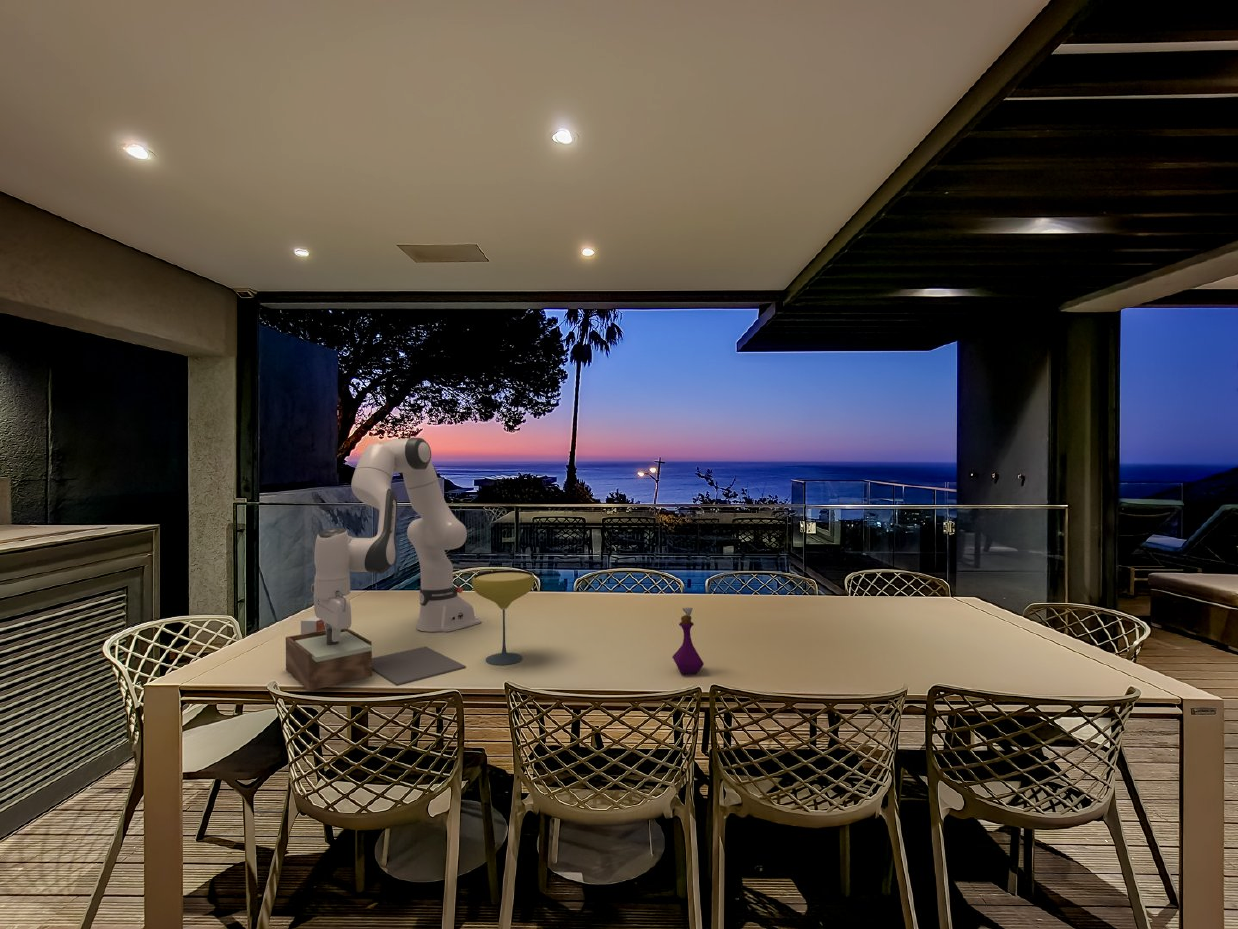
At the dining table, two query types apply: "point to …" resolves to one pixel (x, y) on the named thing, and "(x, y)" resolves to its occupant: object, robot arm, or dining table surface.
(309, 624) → the small box
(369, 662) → the walnut box
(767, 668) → the dining table surface
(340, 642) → the lid
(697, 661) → the perfume bottle
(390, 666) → the mat
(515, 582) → the cocktail glass
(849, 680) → the dining table surface
